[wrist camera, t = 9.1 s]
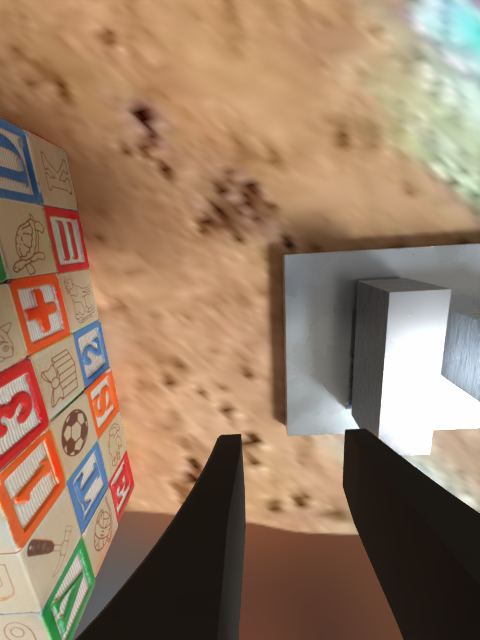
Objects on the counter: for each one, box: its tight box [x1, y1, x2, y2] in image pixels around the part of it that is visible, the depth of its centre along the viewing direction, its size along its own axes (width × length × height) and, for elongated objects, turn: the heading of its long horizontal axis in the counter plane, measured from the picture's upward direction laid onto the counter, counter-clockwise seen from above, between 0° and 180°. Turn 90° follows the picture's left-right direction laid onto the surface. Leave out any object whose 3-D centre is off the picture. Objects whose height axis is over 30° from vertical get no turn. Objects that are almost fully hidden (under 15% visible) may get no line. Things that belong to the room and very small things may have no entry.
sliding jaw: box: [351, 278, 452, 456], centre depth 15 cm, size 2×8×4 cm, turn 3°
